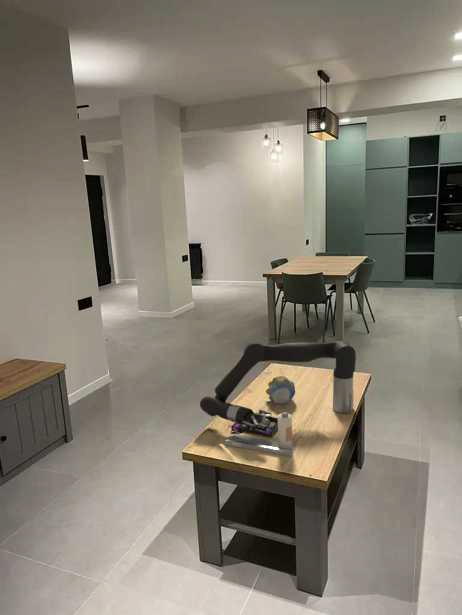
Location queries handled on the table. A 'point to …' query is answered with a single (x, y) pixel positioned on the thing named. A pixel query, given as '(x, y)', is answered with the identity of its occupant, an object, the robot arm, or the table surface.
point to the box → (270, 432)
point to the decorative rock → (281, 390)
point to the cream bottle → (285, 431)
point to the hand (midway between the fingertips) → (272, 424)
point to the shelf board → (258, 442)
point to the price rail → (258, 447)
